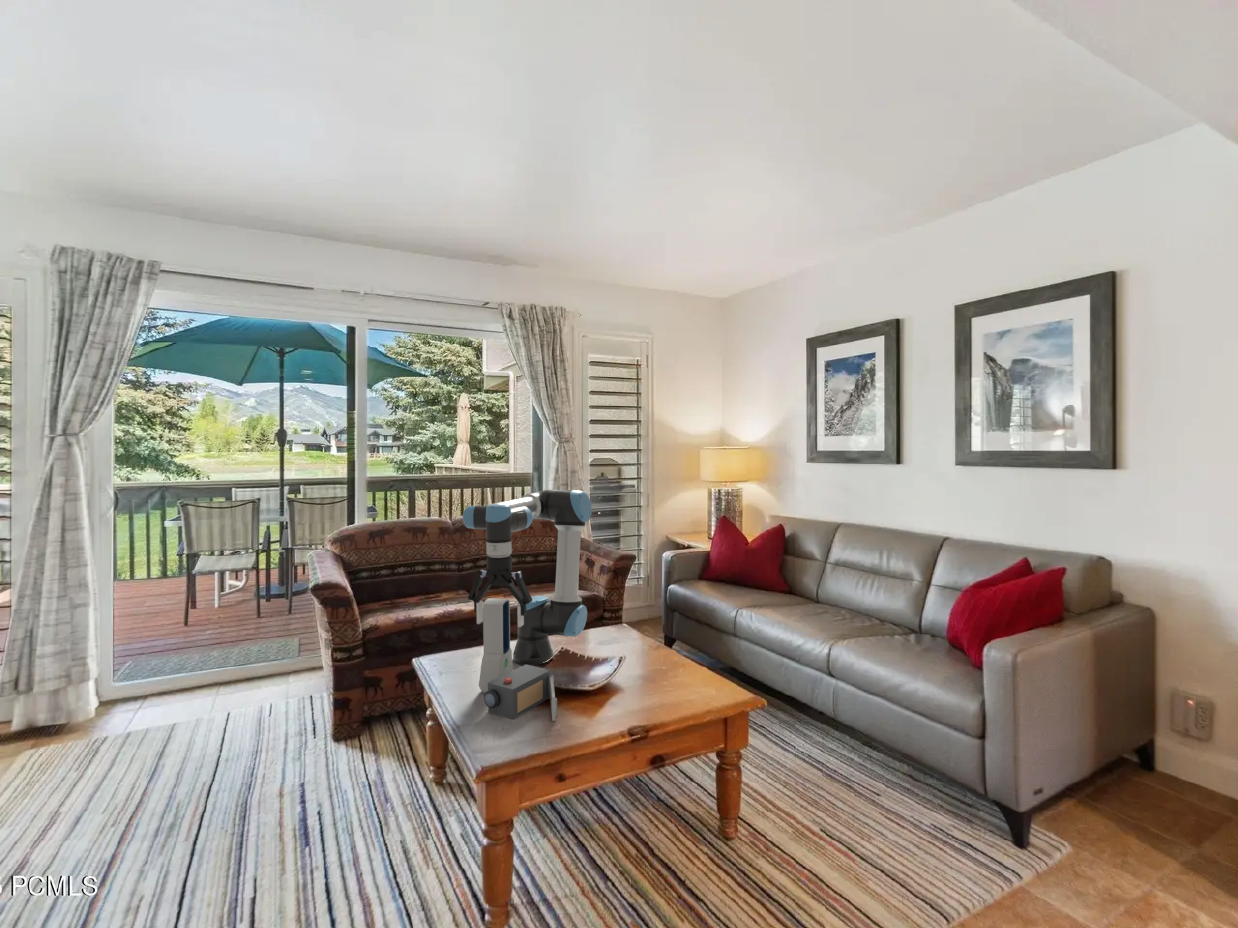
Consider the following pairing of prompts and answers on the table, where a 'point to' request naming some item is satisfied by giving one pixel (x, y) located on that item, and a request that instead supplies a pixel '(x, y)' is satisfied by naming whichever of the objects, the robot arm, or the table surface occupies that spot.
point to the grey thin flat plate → (552, 697)
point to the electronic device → (495, 641)
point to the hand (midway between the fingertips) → (500, 624)
